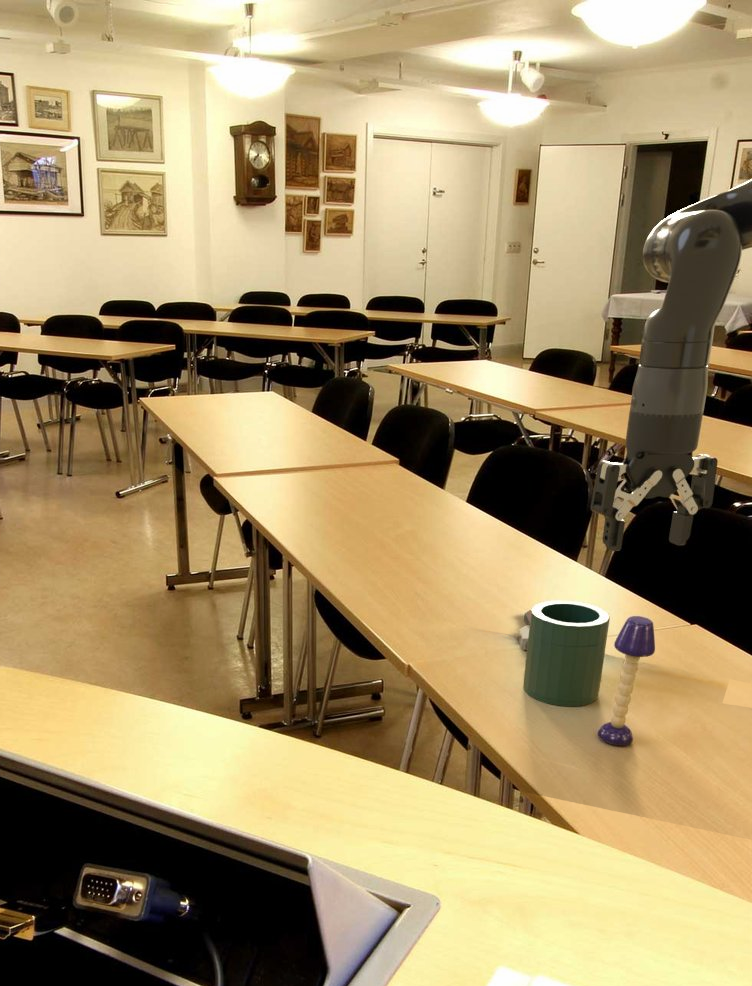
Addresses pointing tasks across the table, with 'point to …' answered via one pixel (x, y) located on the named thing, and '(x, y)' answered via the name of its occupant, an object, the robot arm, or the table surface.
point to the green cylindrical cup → (565, 652)
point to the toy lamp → (628, 675)
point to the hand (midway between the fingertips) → (645, 546)
